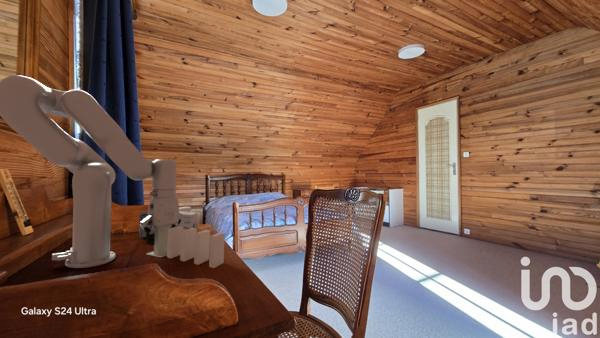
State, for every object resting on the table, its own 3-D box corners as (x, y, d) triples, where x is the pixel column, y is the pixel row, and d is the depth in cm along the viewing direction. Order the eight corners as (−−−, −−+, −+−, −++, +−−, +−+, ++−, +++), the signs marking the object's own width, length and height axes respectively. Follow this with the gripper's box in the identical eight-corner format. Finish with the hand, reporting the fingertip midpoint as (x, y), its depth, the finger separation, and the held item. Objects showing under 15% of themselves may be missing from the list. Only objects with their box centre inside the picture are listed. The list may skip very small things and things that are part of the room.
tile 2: (194, 263, 85) (195, 233, 84) (204, 258, 89) (205, 230, 89) (198, 264, 84) (199, 234, 84) (208, 259, 89) (210, 230, 89)
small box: (164, 232, 120) (165, 209, 120) (168, 235, 115) (169, 211, 115) (138, 235, 113) (139, 211, 113) (140, 238, 108) (141, 214, 108)
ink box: (171, 241, 106) (172, 213, 106) (178, 238, 111) (179, 211, 111) (191, 243, 105) (192, 214, 105) (197, 239, 110) (198, 212, 110)
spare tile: (169, 250, 95) (170, 223, 95) (157, 254, 90) (158, 226, 90) (165, 249, 96) (166, 223, 96) (153, 254, 91) (154, 225, 91)
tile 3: (180, 260, 87) (181, 230, 87) (191, 255, 91) (192, 227, 91) (184, 261, 86) (185, 231, 86) (195, 256, 91) (196, 228, 91)
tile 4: (166, 257, 89) (167, 228, 89) (178, 253, 94) (179, 225, 93) (170, 258, 88) (171, 229, 88) (182, 254, 93) (183, 226, 93)
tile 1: (209, 267, 82) (210, 235, 82) (219, 261, 87) (220, 232, 87) (213, 268, 82) (214, 236, 82) (223, 262, 87) (224, 233, 86)
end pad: (146, 254, 91) (146, 253, 91) (163, 248, 98) (163, 248, 98) (160, 257, 89) (160, 257, 89) (177, 251, 95) (177, 251, 95)
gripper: (149, 197, 83) (148, 249, 84) (190, 192, 99) (188, 236, 100) (133, 195, 86) (131, 246, 86) (175, 191, 102) (173, 234, 102)
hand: (162, 241), depth 93 cm, fingers open, 9 cm apart
